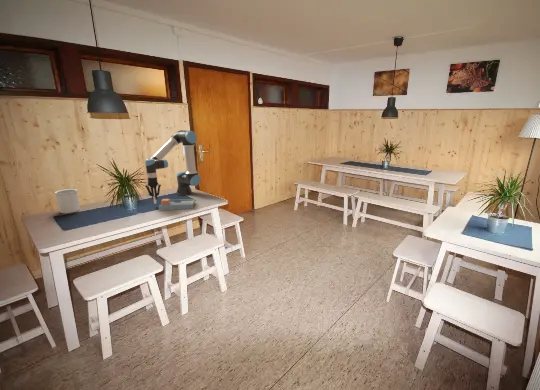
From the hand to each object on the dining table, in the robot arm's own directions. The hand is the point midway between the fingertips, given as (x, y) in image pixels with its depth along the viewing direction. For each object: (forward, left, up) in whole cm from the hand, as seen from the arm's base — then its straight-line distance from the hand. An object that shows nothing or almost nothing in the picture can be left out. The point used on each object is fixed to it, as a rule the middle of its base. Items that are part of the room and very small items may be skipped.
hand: (155, 203), depth 231 cm
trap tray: (0, +19, -4) cm, 19 cm away
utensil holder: (+2, -69, -4) cm, 69 cm away
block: (0, +9, -1) cm, 9 cm away
